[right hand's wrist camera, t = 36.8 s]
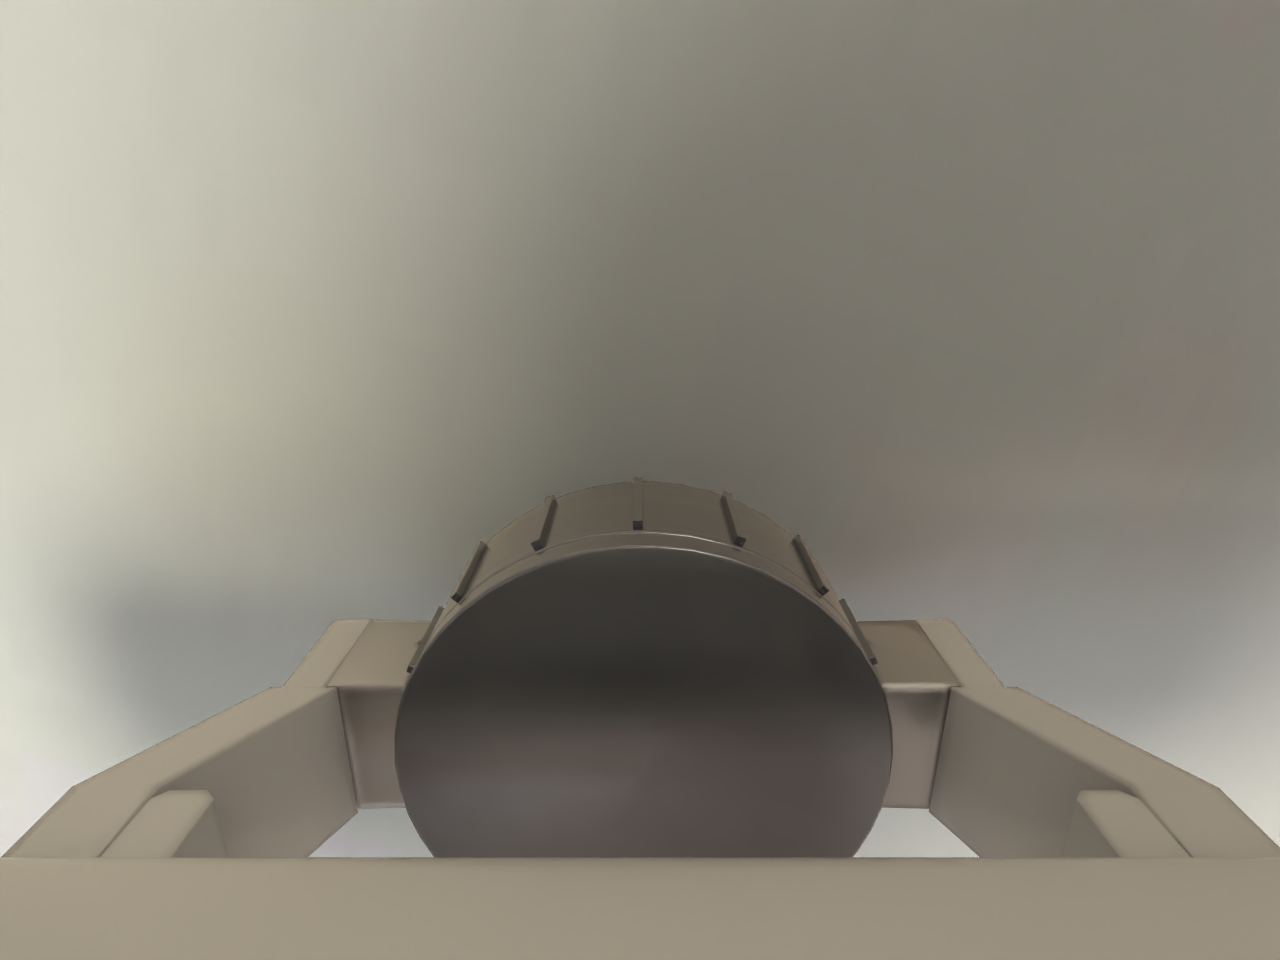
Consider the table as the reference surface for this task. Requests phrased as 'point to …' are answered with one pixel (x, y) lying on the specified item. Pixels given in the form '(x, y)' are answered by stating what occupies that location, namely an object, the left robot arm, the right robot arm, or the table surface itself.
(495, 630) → the lid
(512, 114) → the table surface
